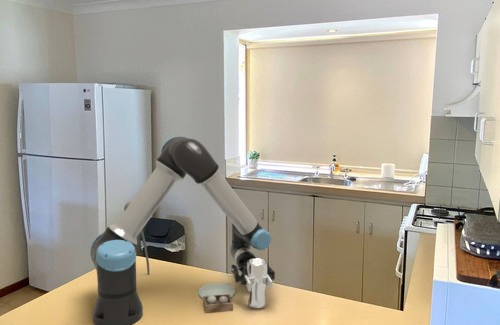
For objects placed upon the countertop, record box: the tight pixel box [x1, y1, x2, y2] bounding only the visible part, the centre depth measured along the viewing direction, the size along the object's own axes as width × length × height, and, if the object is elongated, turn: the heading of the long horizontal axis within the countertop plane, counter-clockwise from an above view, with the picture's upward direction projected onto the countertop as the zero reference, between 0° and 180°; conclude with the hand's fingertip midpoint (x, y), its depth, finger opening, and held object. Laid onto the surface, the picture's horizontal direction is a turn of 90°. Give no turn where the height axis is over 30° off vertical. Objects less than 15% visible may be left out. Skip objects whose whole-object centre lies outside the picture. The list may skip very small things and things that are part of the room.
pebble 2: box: [219, 296, 228, 304], centre depth 137 cm, size 3×3×3 cm
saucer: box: [198, 282, 236, 300], centre depth 148 cm, size 13×13×1 cm
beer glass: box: [247, 257, 268, 309], centre depth 138 cm, size 7×7×15 cm
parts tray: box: [202, 294, 234, 314], centre depth 138 cm, size 9×7×2 cm
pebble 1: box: [207, 295, 217, 305], centre depth 138 cm, size 3×3×3 cm
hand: (260, 286), depth 133 cm, fingers closed on beer glass, 6 cm apart
